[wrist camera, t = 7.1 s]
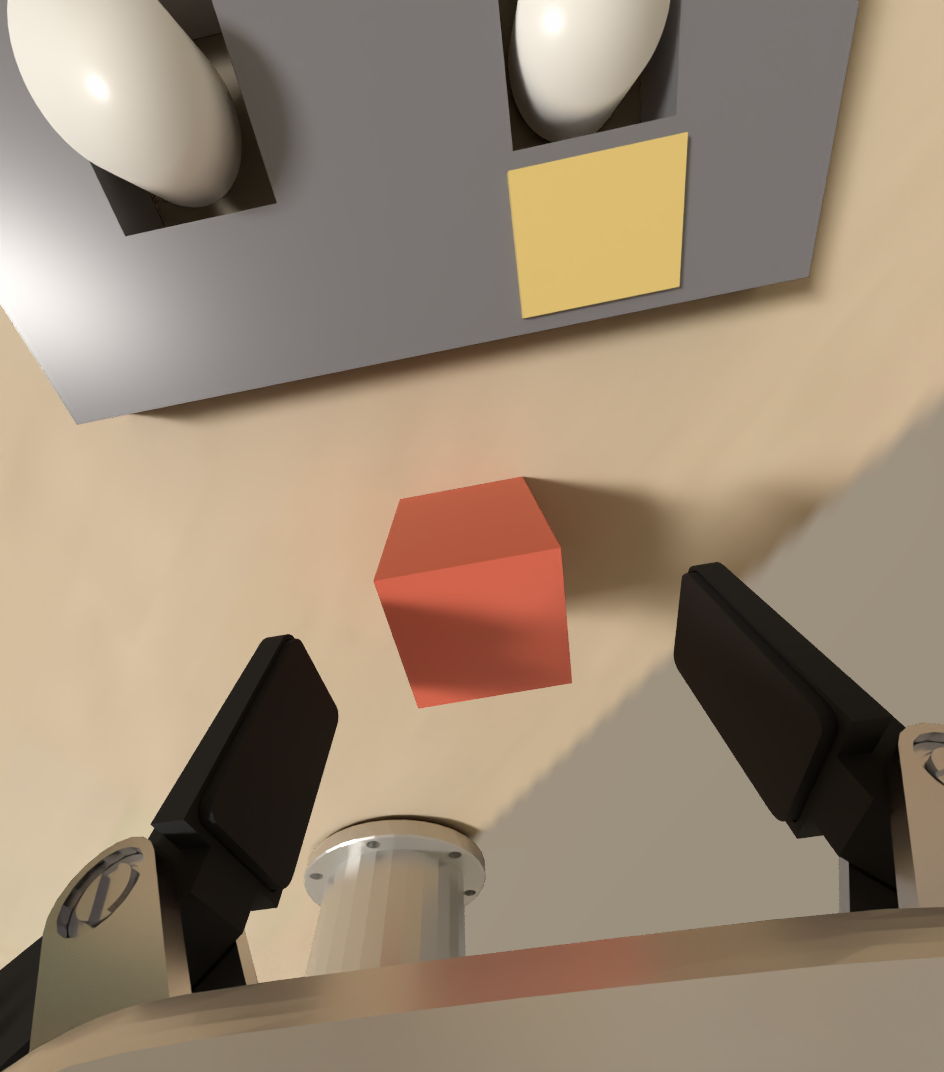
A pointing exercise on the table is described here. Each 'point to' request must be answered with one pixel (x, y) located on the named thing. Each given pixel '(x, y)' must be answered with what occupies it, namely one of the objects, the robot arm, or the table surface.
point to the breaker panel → (416, 198)
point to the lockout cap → (475, 594)
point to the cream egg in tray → (579, 60)
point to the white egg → (130, 94)
